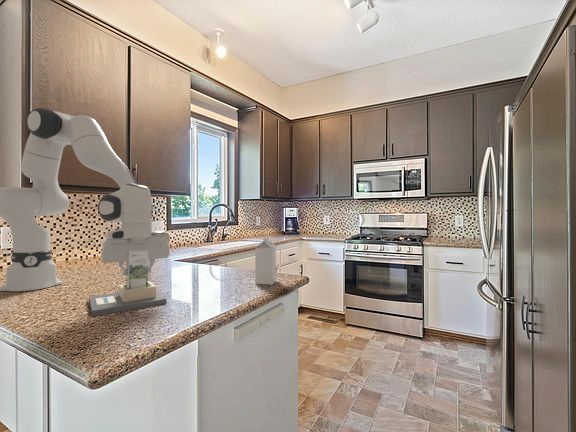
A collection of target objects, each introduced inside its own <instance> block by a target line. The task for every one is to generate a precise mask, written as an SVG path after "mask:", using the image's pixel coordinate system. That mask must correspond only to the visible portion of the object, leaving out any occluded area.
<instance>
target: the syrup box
mask: <svg viewBox="0 0 576 432" xmlns="http://www.w3.org/2000/svg"><path fill="white" fill-rule="evenodd" d="M125 262H126V265H125V269H128V272H127V273H128V275H125V276H126V277H125V278H126V279H125V280H126V283H125V284H126V290H128V289H136V288H143V287H148V251H147V250H137V251H129V253H128V261H125Z"/></svg>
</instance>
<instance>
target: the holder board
mask: <svg viewBox="0 0 576 432" xmlns="http://www.w3.org/2000/svg"><path fill="white" fill-rule="evenodd" d="M88 302H89V308H90V311H91V316H92V317H95V316H100V315H101V316H102V315H107V314H113V313H119V312H125V311H130V310H135V309H136V310H137V309H142V308H148V307H153V306H158V305H159V306H160V305H166V304H167V298H166V297H165V296H164V295H163V294H162V293H160V292H159V291H158V290H157V286H156V285H155V284H154V283H153V282H152V281H151V282H150V281H148V287H143V288H136V289H128V290H126V283H124V284H118V291H117V292H112V293H105V294H98V295H96V294H95V295H90V296H88Z"/></svg>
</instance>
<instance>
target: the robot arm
mask: <svg viewBox="0 0 576 432" xmlns="http://www.w3.org/2000/svg"><path fill="white" fill-rule="evenodd" d="M26 126H27V130H28V131H29V132H30V134H29V135H28V138H27V140H26V144H25V146H24V147H25V148H24V152H23V155H22V159H21V164H20V170H21V172H22V173H23V175H24V176H25V177H27V178H28V179H30V180H31V181H32V187H25V186H24V187H23V186H22V187H20V186H6V187H5V186H4V187H0V217H1V218H2V219H3V220H4V221H5V222H6V223H7V225H8V227H9V228H10V231H11V232H10V233H11V235H12V236H11V237H12V252H11V256H10V258H11V259H10V261H11V264H9V266H8V267H6V268H5V285H3V286H1V287H0V292H26V291H28V292H29V291H35V290H40V289H42V290H43V289H47V288H50V287H53V286H59V285H62V284H63V283H64V282H63V280H62V279H60V278H58V277H57V276H58V272H57V264H56V263H55V262H53V261H52V258H53V253H52V250H51V232H50V230H49V229H48V228H46V227H45V226H44V225H40V224H39V223H38V222H37V220H36V217H45V216H46V217H47V216H48V217H52V216H58V215H61V214H64V213H66V211H68V209H69V205H70V200H69V197H68V196H67V194H66V193H65V192H63V190H62V188H61V187H60V185H59V180H58V176H59V170H60V165H61V161H62V155H63V151H64V148H66V146H69V145H70V146H72V149H73V152H74V155H75V157H76V159H77V160H78V161H79V162H80V164H82V165H83V166H84V167H86V168H88V169H90V170H92V171H95V172H98V173H101V174H102V175H105V176H107V177H109V178H110V179H112V180H113V181H115V183H116V184H117V185H118V187H119V189H118V190H116V191H115V192H111V193H108V194H104V195H103V196H102V197H101V198H100V199H99V202H98V204H97V211H98V215H99V216H100V218H101V219H102V220H103V221H106V222H110V223H121V227H118V228H115V229H112V230H109V231H107V232H106V233H105V237H106V239H105V240H104V241H103V244H102V247H101V253H100V260H101V262H102V263H104V264H108V263H109V264H110V263H118V266H119V268H120V269H121V273H122V274H121V275H122V276H126V275H128V273H127V272H128V269H126V268H125V267H124V265H125V262H126V261H128V253H129V251H137V250H147V251H148V259H149V262H151V263H150V264H149V266H148V273H151V274H152V267H153V266H154V264H155V262H156V260H158V259H167V258H169V256H170V247H169V243H170V241H171V240H170V238H171V237H170V234H169V233H168V232H165V231H152V227H153V226H152V219H151V216H152V214H153V209H154V206H153V203H152V195H151V191H150V187H148V186H146V185H144V184H143V185H142V184H138V182H137V180H136V178H135V177H134V175H133V174H132V172H131V170H130V169H129V167H128V166H127V165H126V163H125V162H124V161H123V160H122V159H121V158H120V157H119V156H118V155H117V154H116V152H115V151H114V149H113V148H112V146H111V145H110V143H109V141H108V139H107V137H106V134H105V133H104V131H103V130H102V128H101V126H100V125H99V123H98V122H97V121H96V120H95V118H92V117H90V116H88V115H84V114H83V115H82V114H81V115H75V116H74V115H71V114H69V113H63V112H60V111H55V110H52V109H49V108H45V107H35V108H33V109H32V110H31V111H30V112H29V113H28V115H27V117H26Z"/></svg>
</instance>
